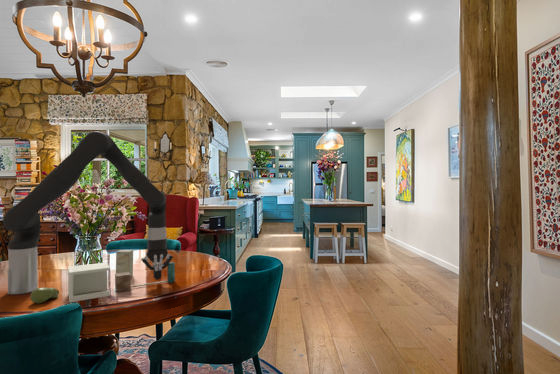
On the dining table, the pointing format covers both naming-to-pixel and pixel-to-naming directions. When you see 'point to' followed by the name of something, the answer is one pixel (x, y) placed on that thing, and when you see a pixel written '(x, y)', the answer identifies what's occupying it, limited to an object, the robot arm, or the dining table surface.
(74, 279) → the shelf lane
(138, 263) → the dining table surface
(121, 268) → the skincare box
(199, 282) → the dining table surface
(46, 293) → the pear
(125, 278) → the block with cord
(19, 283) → the robot arm
